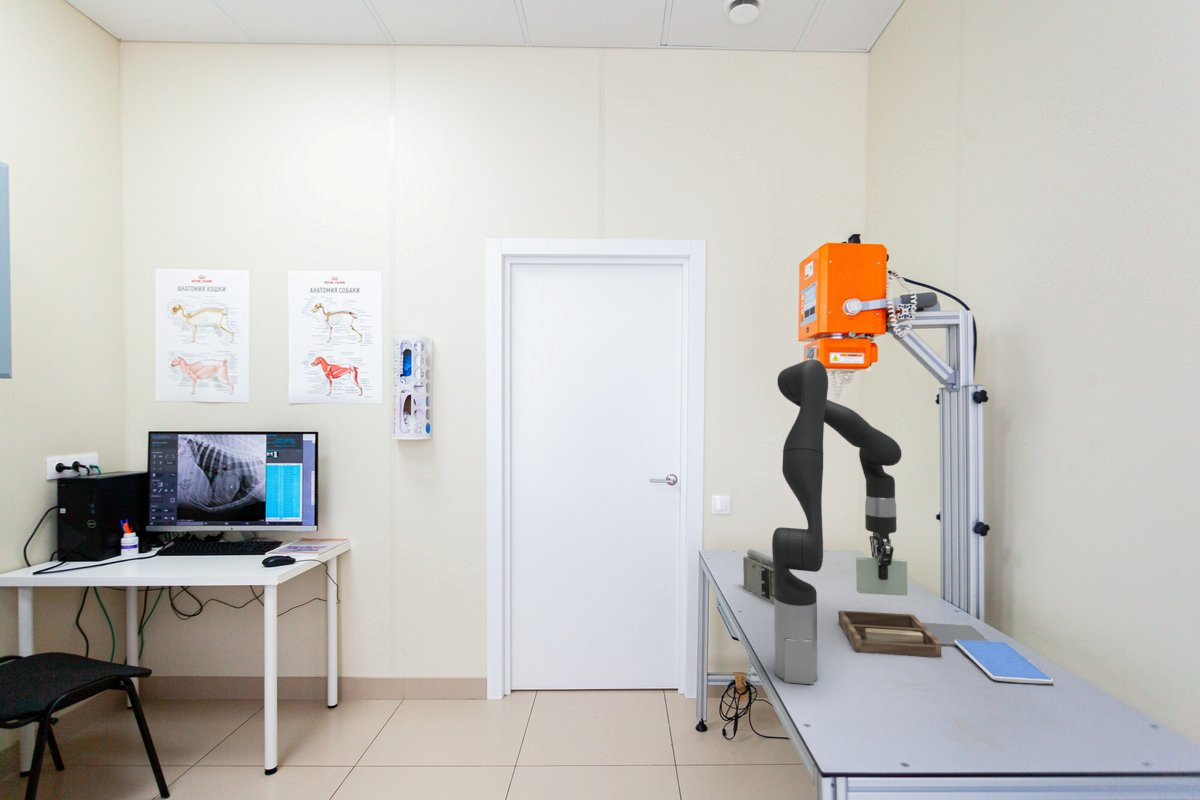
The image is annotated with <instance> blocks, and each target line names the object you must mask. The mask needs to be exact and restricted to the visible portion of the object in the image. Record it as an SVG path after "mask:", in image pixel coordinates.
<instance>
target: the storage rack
mask: <svg viewBox="0 0 1200 800" xmlns="http://www.w3.org/2000/svg"><path fill="white" fill-rule="evenodd" d="M922 623H923V622H921V621H920V620H919V619H918V617H916V616H915V615H914V614H911V613H909V614H907V613H891V612H873V611H872V612H870V611H857V610H856V611H855V610H854V611H853V610H852V611H851V610H838V625H839V626H840V628H841V629H842V631H843V632H844V634H845V636H846V638H847V640H848V641H849V644H851V646H852V648H853V649H854V651H855V652H856V653H861V652H863V653H865V654H876V653H878V655H879V654H880V655H891V654H893V655H894V656H906V655H908V656H907V657H910V656H911V657H923V658H924V657H925V658H935V657H941V658H942V646H941V643H940V642H939V641H938V640H937V638H936V637H935V636H934V635H933V634H932V633H931V632H930V631H929V630H928V629H927V628H926V627H925V626H924V625H923V624H922ZM867 628H872V629H889V630H905V631H913V632H921V633H922V635H923V644H908V643H893V642H877V641H865V629H867ZM863 653H862V654H863Z"/></svg>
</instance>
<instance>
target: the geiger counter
mask: <svg viewBox="0 0 1200 800" xmlns="http://www.w3.org/2000/svg"><path fill="white" fill-rule="evenodd" d="M746 552H747V553H746V554H747V555H746V556H743V557H742V560H743V562H742V563H743V567H742V568H743V589H744V590H745V591H747V592H749V593H751V594H753V595H754V596H756V597H759V598H761V599H762V600H765V601H766V602H768V603H770V604H773V605H774V567H773V556H769V555H767V554H765V553H762V552H760V551H757V550H754V549H752V548H750V549H748V550H747V551H746Z"/></svg>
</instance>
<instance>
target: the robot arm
mask: <svg viewBox="0 0 1200 800" xmlns="http://www.w3.org/2000/svg"><path fill="white" fill-rule="evenodd" d="M828 375H829V374H828V372H827V368H826V367H825V365H824V364H823V363H822V362H821V361H820V360H818V359H808V360H804V361H801V362H799V363H796V364H794V365H791V366H787V367H786V368H784V369H783V370H781V372H779V374H778V377H777V386H778V389H779V392H780V393H781V394H782V396H783V397H784V398H785V399H787V400H788V401H790V402H791V403H793V404H794V405H796V406H798V407H799V412H798V414H797V417H796V419H795V421H794V422H793V424H792V427H791V429H790V431H789V432H788V434H787V435H786V439H785V441H784V444H783V449H782V468H781V470H782V475H783V478H784V480H785V481H786V483H787V484H788V486H789V488H790V490H791V491H792V493H793V495H794V496H795V498H796V499H797V501H798V503H799V504H800V507H801V508H802V510H803V513H804V516H805V518H806V521H807V529H805V528H794V527H782V526H781V527H780V526H779V527H777V528H775V530H773V531H774V532H773V534H772V541H771V547H772V548H771V551H772V558H773V567H774V604H773V606H774V609H773V610H774V611H773V612H774V613H773V614H774V618H773V619H774V672H775V674H776V675H777V676H778V677H779V678H781V679H782V680H783V681H784V683H791V684H805V685H815V683H814V682H815V681H817V679H818V676H819V675H818V604H817V603H818V602H817V599H818V597H817V595H818V593H817V589H816V587H815V586H813V585H812V584H811V583H808V582H807V581H805V580H802V579H800V578H799V577H797V576H796V575H794V574H793V573H792V572H791V570H796V571H803V572H813V573H815V572H816V573H817V572H819V571H820V570H821V568H822V566H823V561H824V539H823V538H824V535H823V533H824V532H823V511H822V509H823V508H822V502H823V500H822V497H823V478H824V431H825V424H827V426H828V427H830V428H832V429H833V430H834V431H836V433H838V435H840V436H841V437H842V438H844V439H845V440H846V441H847V442H848V443H849V444H850V445H852V446H853V447H856V448H859V451H858V455H859V461H860V465H861V468H862V473H863V476H864V479H865V501H864V502H865V503H864V504H865V505H864V513H865V514H864V515H865V518H864V519H865V520H864V521H865V523H864V524H865V526H864V527H865V530H866V531H868V532H871V533H872V535H870V536H869V538H868V539H869V543H870V550H871V558H878V578H879V579H880V580H887V579H888V566H889V565H891V561H892V559H893V554H894V550H895V548H894V546H892V541H891V539H890V534H895V533H896V532H897V530H898V529H897V528H898V527H897V524H898V523H897V502H896V482H895V478H894V477H893V475H891V474H889V473H886V472H885V470H884V466H885V467H891V466H895V465H896V464H898V463H899V462H900V461H901V459H902V449H901V447H900V445H899V444H898V442H897V441H896V440H895V439H894V438H892V437H891V436H889V435H887V434H886V433H884V432H883V431H881V430H879V429H877V428H876V427H874V426H872V425H871V424H870V423H869V422H867V420H866V419H864V418H863V417H862V416H861V415H860V414H859V413H857V412H856V411H855V410H853V409H851V408H850V407H847V406H844V405H842V404H839V403H836V402H834V401H832V400H829V399H828V392H829V391H828V390H829V377H828ZM884 559H886V560H884Z"/></svg>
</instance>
